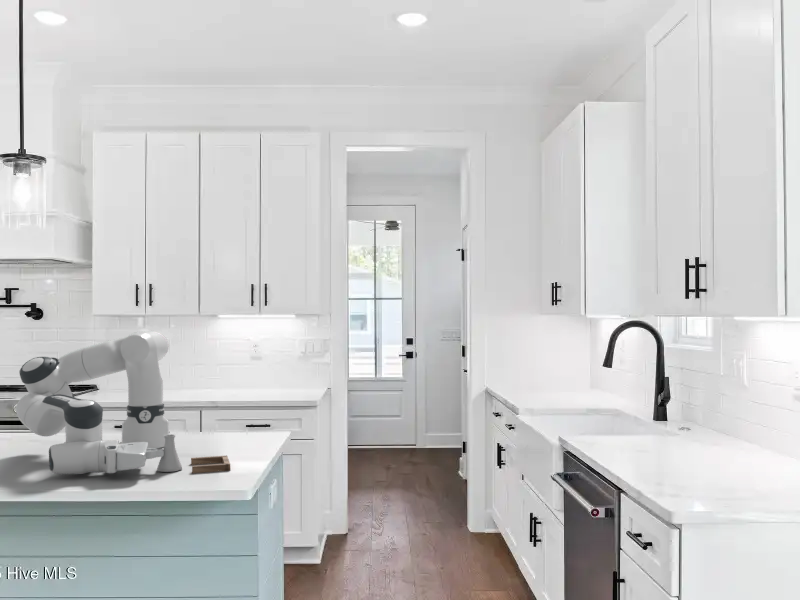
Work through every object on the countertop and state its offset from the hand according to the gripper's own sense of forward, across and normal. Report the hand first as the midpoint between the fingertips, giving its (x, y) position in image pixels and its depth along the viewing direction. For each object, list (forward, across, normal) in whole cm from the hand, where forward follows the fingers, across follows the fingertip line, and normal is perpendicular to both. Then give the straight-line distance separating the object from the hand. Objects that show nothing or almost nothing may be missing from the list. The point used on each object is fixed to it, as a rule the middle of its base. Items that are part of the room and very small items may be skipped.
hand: (163, 452), depth 202 cm
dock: (+13, -1, -5) cm, 14 cm away
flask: (+2, -1, -6) cm, 6 cm away
